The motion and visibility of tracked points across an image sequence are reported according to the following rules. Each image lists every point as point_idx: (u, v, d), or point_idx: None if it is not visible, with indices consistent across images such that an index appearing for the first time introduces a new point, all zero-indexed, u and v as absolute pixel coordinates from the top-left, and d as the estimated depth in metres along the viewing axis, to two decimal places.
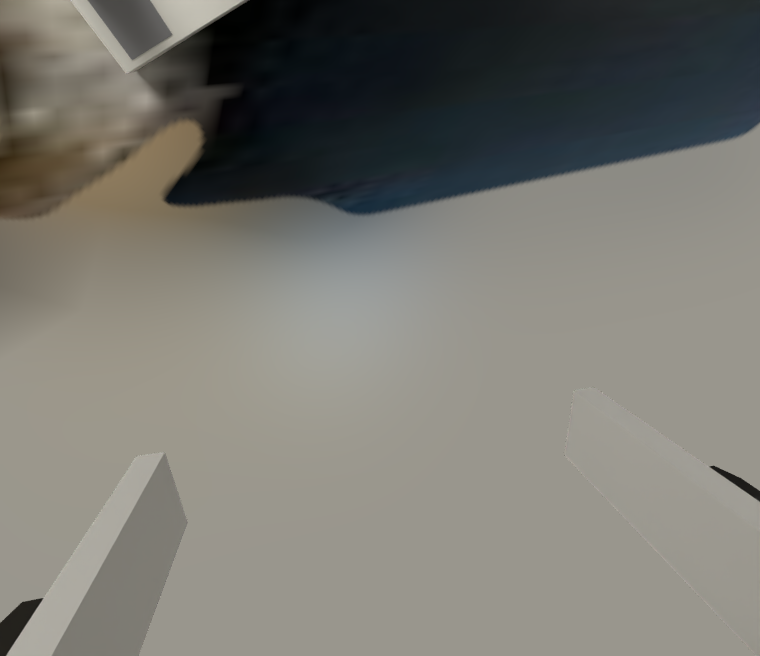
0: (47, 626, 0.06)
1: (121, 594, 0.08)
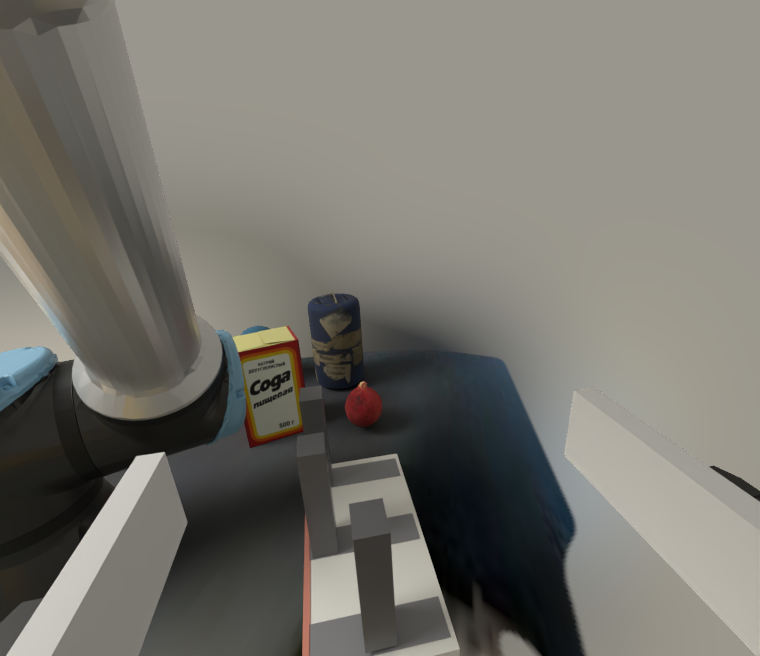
0: (47, 626, 0.06)
1: (121, 594, 0.08)
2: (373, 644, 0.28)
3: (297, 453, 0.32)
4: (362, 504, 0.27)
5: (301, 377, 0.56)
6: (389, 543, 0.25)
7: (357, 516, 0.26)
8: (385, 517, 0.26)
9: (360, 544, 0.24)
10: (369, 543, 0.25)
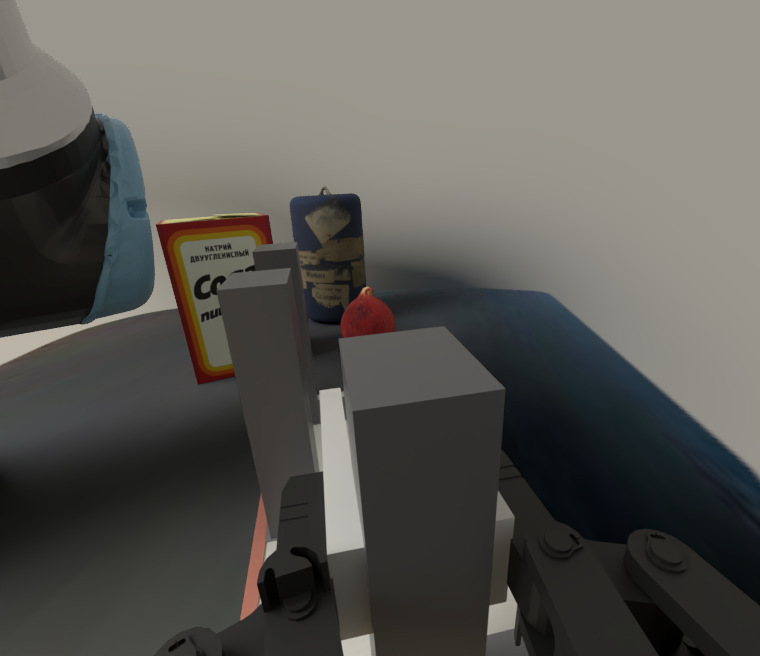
0: (339, 478, 0.09)
1: None
2: None
3: (222, 286, 0.14)
4: (384, 338, 0.08)
5: None
6: (495, 437, 0.06)
7: (368, 358, 0.07)
8: (468, 357, 0.07)
9: (382, 433, 0.06)
10: (418, 432, 0.06)
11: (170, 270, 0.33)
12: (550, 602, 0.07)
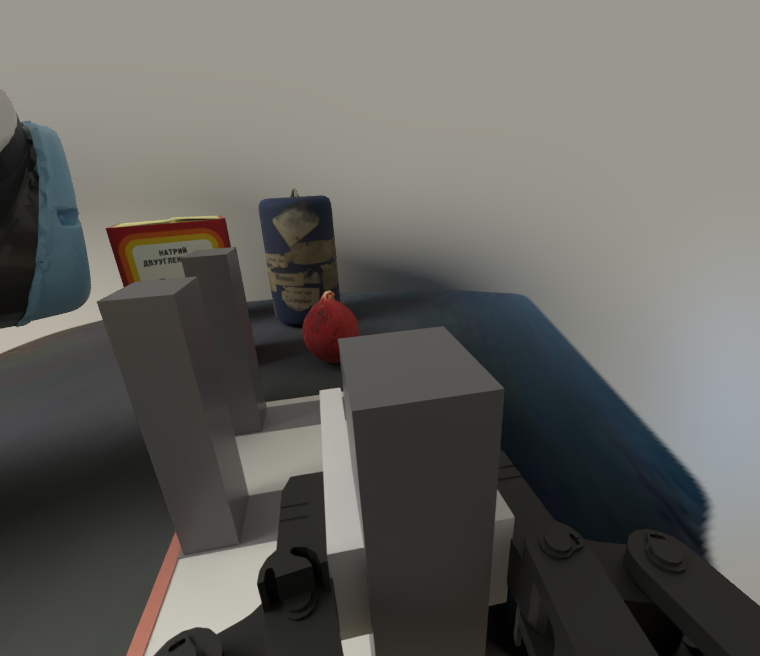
0: (339, 478, 0.09)
1: None
2: None
3: (107, 297, 0.13)
4: (384, 338, 0.08)
5: None
6: (494, 437, 0.06)
7: (367, 358, 0.07)
8: (468, 357, 0.07)
9: (381, 433, 0.06)
10: (417, 431, 0.06)
11: (122, 274, 0.33)
12: (550, 602, 0.06)
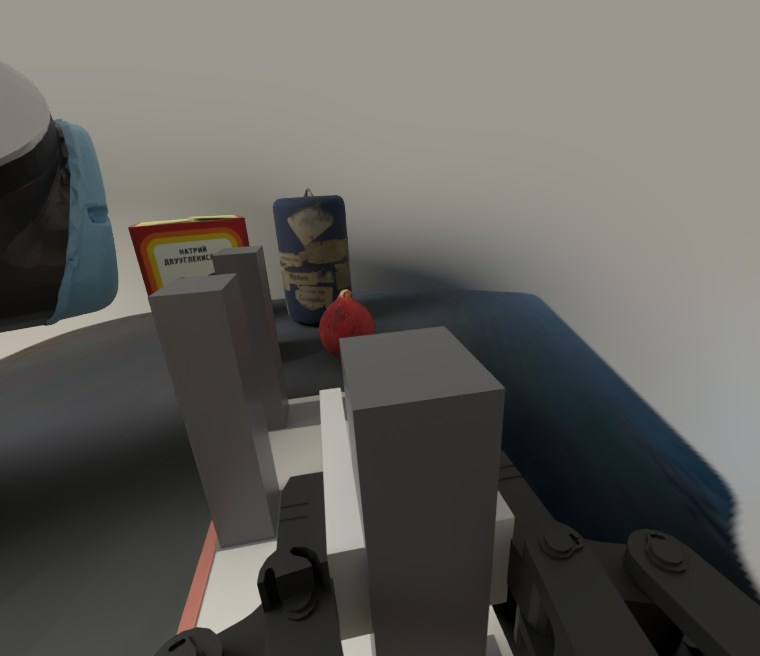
0: (339, 478, 0.09)
1: None
2: None
3: (156, 293, 0.14)
4: (385, 338, 0.08)
5: None
6: (495, 437, 0.06)
7: (368, 357, 0.07)
8: (468, 356, 0.07)
9: (382, 432, 0.06)
10: (418, 431, 0.06)
11: (144, 273, 0.33)
12: (550, 602, 0.06)
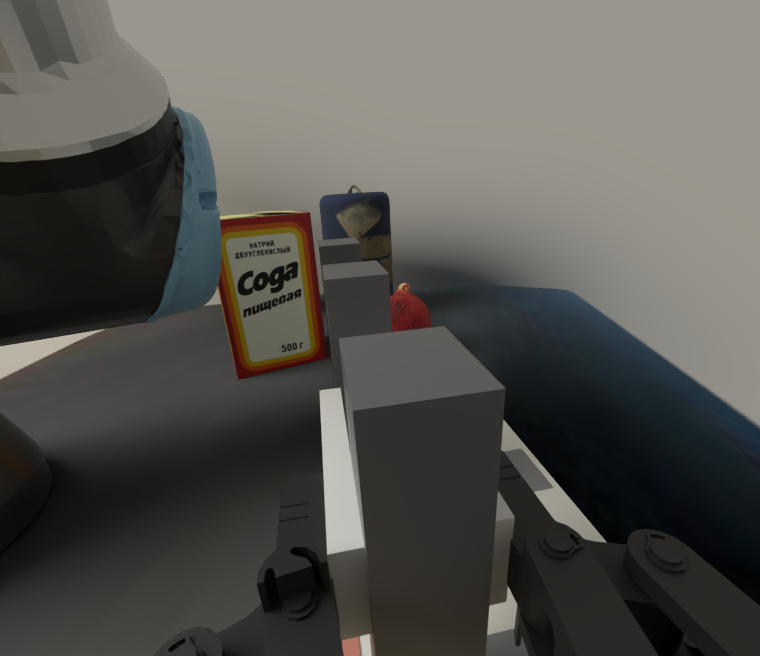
0: (339, 478, 0.09)
1: None
2: None
3: (326, 277, 0.14)
4: (385, 338, 0.08)
5: (314, 275, 0.38)
6: (495, 437, 0.06)
7: (368, 358, 0.07)
8: (468, 357, 0.07)
9: (382, 432, 0.06)
10: (418, 432, 0.06)
11: None
12: (550, 603, 0.06)
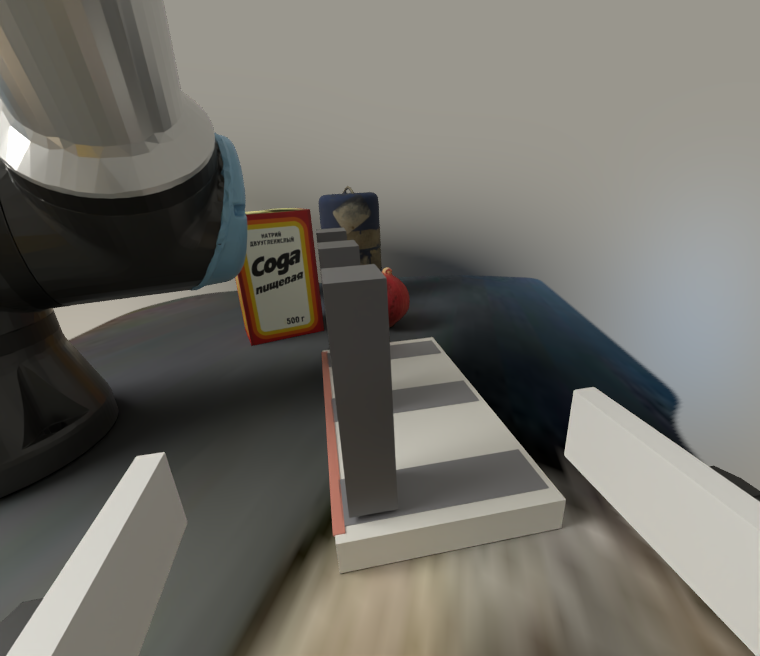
0: (47, 626, 0.06)
1: (121, 594, 0.08)
2: (361, 503, 0.18)
3: (319, 248, 0.23)
4: (343, 268, 0.17)
5: (313, 261, 0.47)
6: (385, 301, 0.15)
7: (333, 273, 0.16)
8: (378, 271, 0.16)
9: (335, 295, 0.14)
10: (350, 295, 0.15)
11: None
12: None
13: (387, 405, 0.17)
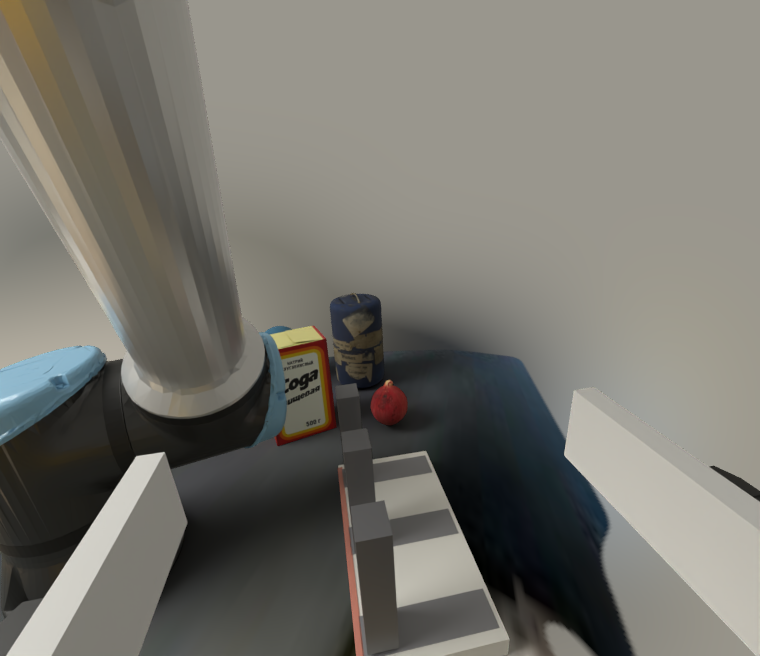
0: (47, 626, 0.06)
1: (121, 594, 0.08)
2: (375, 647, 0.28)
3: (344, 448, 0.33)
4: (364, 507, 0.27)
5: (328, 376, 0.57)
6: (391, 545, 0.25)
7: (359, 518, 0.26)
8: (387, 519, 0.26)
9: (362, 546, 0.24)
10: (371, 545, 0.25)
11: None
12: None
13: (392, 594, 0.27)
